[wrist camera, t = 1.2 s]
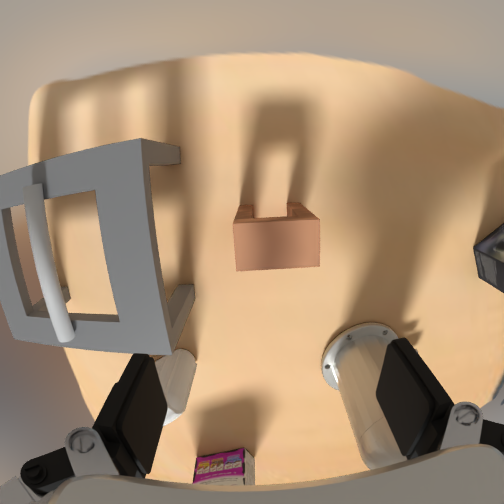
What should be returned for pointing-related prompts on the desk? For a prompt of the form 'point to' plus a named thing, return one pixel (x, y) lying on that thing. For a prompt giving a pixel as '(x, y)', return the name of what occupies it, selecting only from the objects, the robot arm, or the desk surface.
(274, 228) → the u-shaped wooden block
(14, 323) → the grey square frame
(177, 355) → the photo printer
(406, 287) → the desk surface
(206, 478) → the candy bar box
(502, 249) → the small box
